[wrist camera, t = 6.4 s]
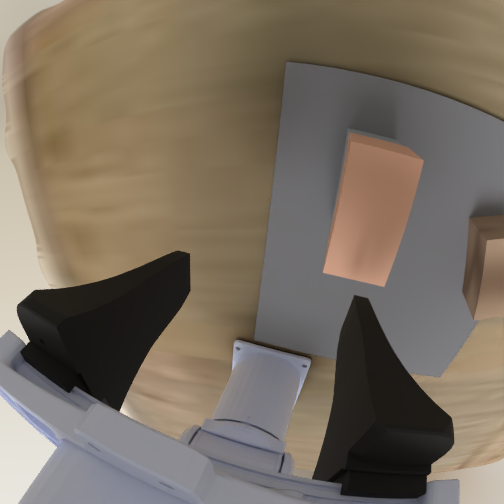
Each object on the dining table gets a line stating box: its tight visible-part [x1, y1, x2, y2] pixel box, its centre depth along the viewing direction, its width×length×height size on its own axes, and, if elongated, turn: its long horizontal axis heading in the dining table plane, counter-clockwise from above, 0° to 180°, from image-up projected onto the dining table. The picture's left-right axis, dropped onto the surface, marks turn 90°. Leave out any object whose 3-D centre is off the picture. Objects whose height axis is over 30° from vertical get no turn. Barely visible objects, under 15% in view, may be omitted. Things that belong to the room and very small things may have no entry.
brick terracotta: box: [323, 133, 424, 287], centre depth 14 cm, size 6×3×4 cm, turn 175°
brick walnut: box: [462, 215, 504, 321], centre depth 16 cm, size 6×3×4 cm, turn 15°
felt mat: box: [254, 62, 504, 377], centre depth 20 cm, size 24×20×1 cm
